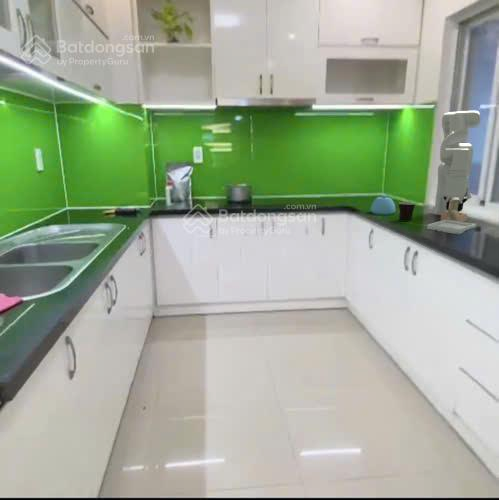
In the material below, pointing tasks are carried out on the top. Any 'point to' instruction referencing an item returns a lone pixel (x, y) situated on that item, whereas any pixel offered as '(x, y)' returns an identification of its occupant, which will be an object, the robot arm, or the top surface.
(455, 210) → the beige vase
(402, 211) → the coffee mug
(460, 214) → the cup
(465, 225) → the tray
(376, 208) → the sugar bowl
